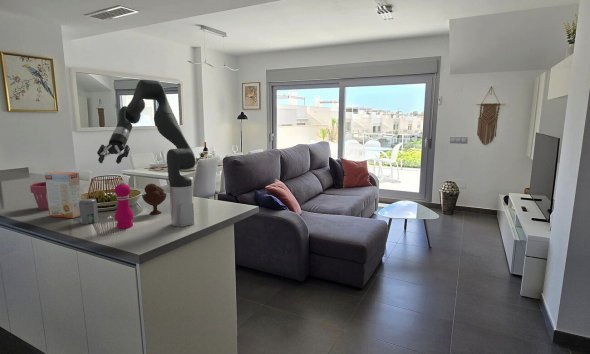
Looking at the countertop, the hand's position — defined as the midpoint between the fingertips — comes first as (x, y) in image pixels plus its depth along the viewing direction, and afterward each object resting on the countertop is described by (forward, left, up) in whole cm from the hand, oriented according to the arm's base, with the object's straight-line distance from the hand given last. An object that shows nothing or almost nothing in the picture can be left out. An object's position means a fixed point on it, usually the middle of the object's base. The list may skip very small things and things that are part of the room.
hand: (108, 162), depth 166 cm
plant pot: (+32, +19, -25) cm, 45 cm away
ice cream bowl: (-18, -13, -25) cm, 33 cm away
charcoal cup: (-11, +14, -25) cm, 30 cm away
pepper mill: (-29, +6, -25) cm, 39 cm away
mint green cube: (-11, +14, -25) cm, 30 cm away
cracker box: (+8, +18, -25) cm, 32 cm away
